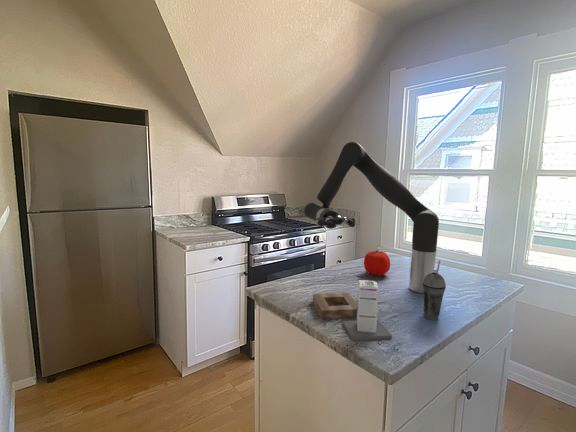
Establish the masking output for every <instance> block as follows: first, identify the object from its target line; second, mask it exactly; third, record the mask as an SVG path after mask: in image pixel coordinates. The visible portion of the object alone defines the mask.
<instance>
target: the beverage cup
mask: <svg viewBox="0 0 576 432" xmlns="http://www.w3.org/2000/svg"><path fill="white" fill-rule="evenodd" d="M440 266H441V260H438V263H437V266H436V267H437V268H436V270H437V272H436V273H429V274H428V275H426V276H425V278H424V280H423V283H422V284H423V290H424V293H423V317H424V318H425V319H427V320H431V321H438V320H439V316H440V313H441V309H442V303H443V299H444V298H443V297H444V293H445V292H446V288H447V286H446V280H445V279H444V277H443V275H441V274H440V273H439V269H440Z"/></svg>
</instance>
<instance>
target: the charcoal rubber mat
mask: <svg viewBox="0 0 576 432" xmlns="http://www.w3.org/2000/svg"><path fill="white" fill-rule="evenodd" d="M342 325H343V327H344V329H345V330H346V332H347V334H348V336H349V337H350V339H351V340H352V341H353V342H354V341H371V340H373V341H374V340H390V339H392V338H393V335H392V334H391V332H389V330H388V329H387V328H386V327H385V326H384V324H383V323H382V322H381V321H380V320H379V319H377V325H376V333H371V332H362V331H357V320H342Z"/></svg>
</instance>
